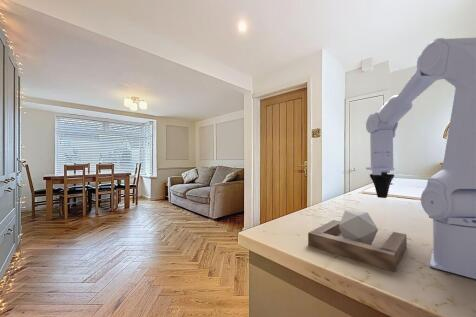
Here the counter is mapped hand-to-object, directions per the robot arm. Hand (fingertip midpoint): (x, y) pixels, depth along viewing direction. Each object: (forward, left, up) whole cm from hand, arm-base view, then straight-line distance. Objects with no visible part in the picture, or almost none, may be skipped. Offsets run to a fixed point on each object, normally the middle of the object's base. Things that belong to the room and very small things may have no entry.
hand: (382, 197), depth 63 cm
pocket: (+1, +19, -9) cm, 22 cm away
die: (+2, +18, -10) cm, 21 cm away
